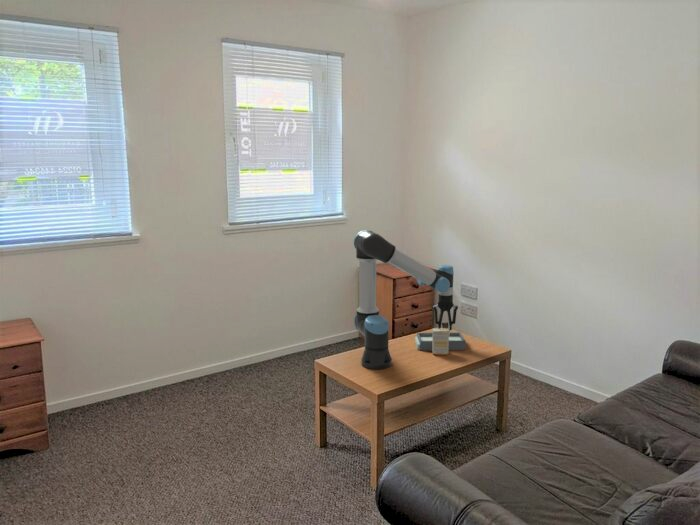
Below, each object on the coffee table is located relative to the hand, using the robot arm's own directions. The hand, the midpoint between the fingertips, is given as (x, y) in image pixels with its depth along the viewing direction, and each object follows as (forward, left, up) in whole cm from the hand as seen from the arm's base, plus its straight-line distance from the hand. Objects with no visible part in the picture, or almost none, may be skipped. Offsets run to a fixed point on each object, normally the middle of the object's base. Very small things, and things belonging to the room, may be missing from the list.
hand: (444, 335), depth 298 cm
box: (-2, 0, -5) cm, 6 cm away
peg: (0, 0, -5) cm, 5 cm away
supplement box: (-4, -12, -6) cm, 14 cm away
